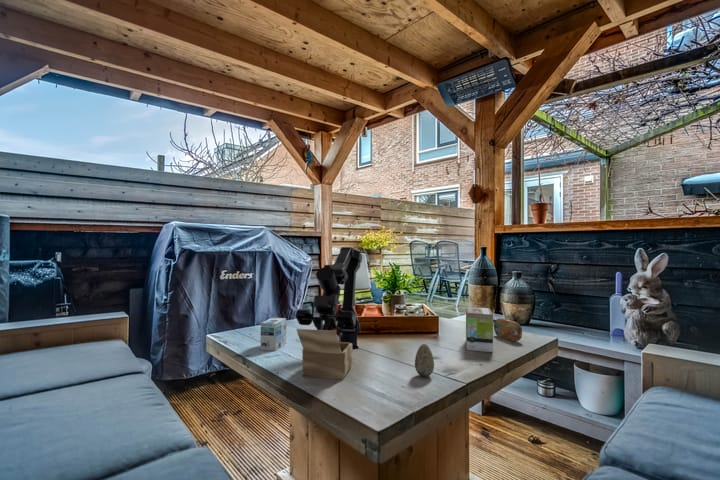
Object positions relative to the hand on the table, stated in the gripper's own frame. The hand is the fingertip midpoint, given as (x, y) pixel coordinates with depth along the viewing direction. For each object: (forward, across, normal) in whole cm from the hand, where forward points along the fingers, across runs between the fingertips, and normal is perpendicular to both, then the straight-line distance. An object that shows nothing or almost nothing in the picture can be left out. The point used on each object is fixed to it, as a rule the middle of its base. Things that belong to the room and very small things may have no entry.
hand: (319, 342), depth 105 cm
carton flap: (0, 0, -1) cm, 1 cm away
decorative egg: (+2, +31, +16) cm, 35 cm away
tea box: (-24, +52, +43) cm, 72 cm away
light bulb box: (-12, -30, +31) cm, 45 cm away
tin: (-33, +66, +53) cm, 91 cm away
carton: (+3, 0, +14) cm, 14 cm away
